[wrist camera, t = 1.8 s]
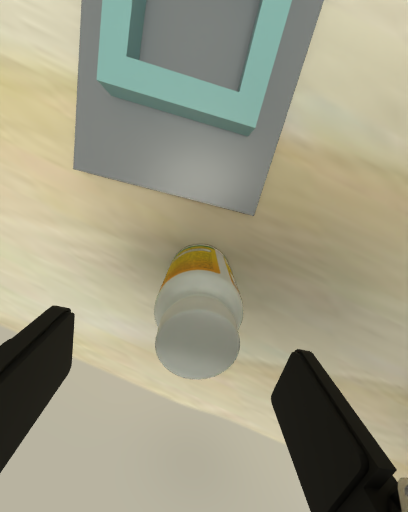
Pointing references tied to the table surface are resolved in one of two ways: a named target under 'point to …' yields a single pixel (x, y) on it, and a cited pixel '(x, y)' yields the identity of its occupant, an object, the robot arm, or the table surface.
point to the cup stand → (188, 92)
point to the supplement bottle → (198, 314)
